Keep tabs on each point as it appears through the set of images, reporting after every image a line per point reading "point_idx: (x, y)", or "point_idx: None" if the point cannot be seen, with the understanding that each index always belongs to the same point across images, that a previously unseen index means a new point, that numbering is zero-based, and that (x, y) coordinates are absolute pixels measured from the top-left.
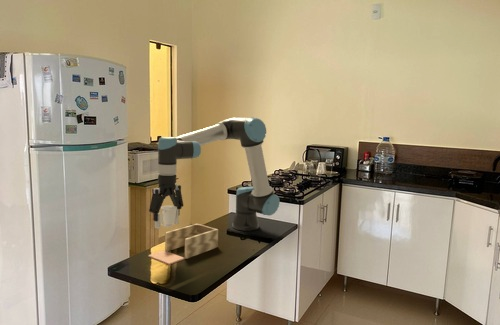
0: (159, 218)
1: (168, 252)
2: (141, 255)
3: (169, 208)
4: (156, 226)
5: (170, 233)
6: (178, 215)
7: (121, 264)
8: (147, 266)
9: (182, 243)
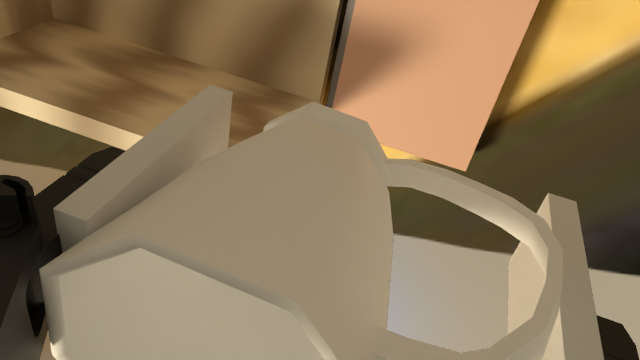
0: (578, 323)
1: (347, 71)
2: (426, 221)
3: (143, 356)
4: None
5: None
6: (136, 143)
7: (622, 256)
8: (603, 91)
9: (166, 66)
